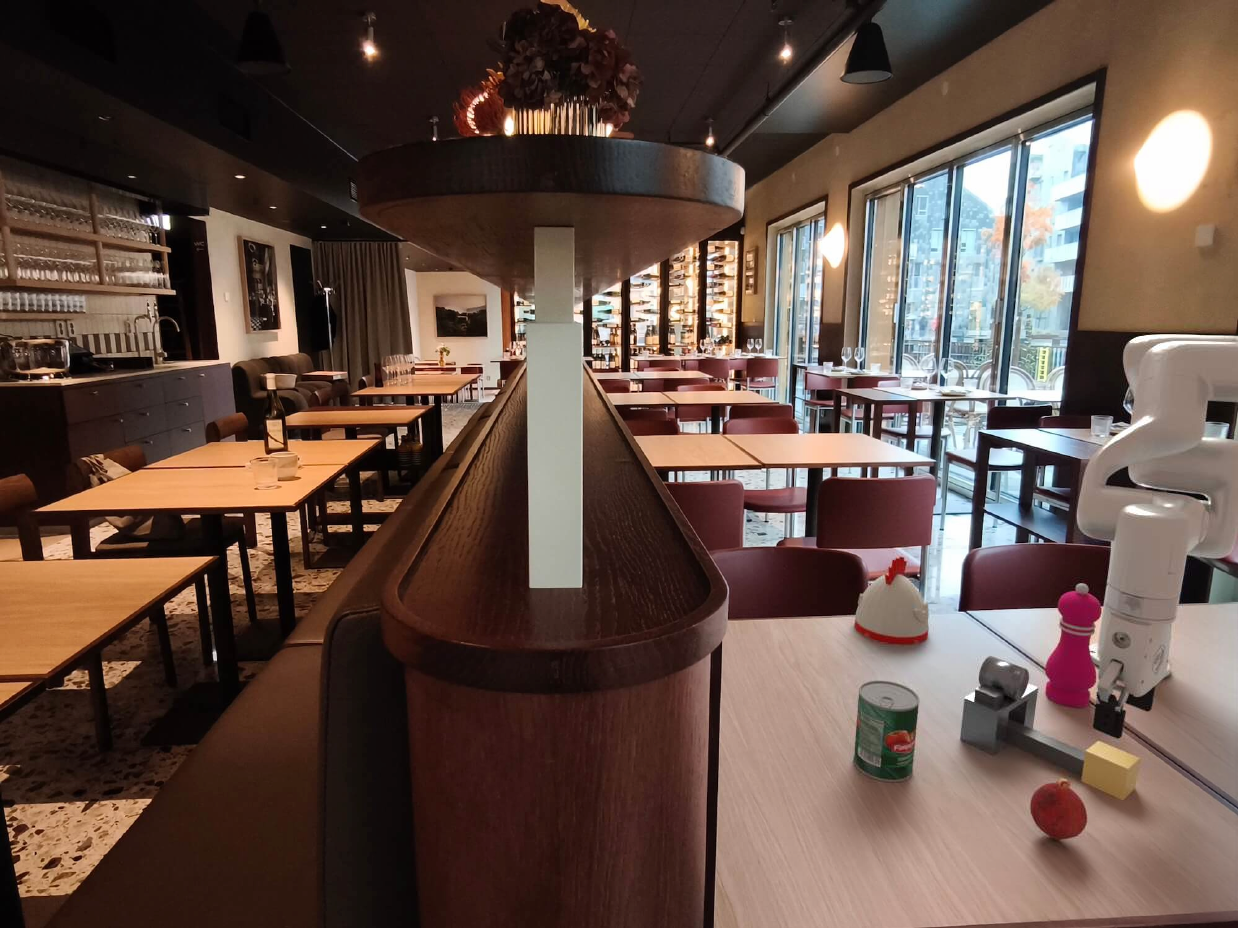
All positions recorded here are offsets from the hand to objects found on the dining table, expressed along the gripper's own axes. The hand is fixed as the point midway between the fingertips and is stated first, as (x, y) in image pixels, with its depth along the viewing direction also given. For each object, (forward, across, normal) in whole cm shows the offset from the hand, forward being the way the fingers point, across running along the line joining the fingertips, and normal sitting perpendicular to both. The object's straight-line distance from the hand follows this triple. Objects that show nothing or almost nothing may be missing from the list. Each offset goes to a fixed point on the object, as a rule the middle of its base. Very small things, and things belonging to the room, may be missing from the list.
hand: (1122, 719), depth 97 cm
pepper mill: (+11, +18, +14) cm, 25 cm away
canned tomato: (+9, -22, +20) cm, 32 cm away
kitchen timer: (+11, +18, +46) cm, 51 cm away
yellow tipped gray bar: (+9, -2, +7) cm, 12 cm away
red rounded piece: (+9, -18, 0) cm, 20 cm away
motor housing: (+10, -2, +15) cm, 18 cm away
